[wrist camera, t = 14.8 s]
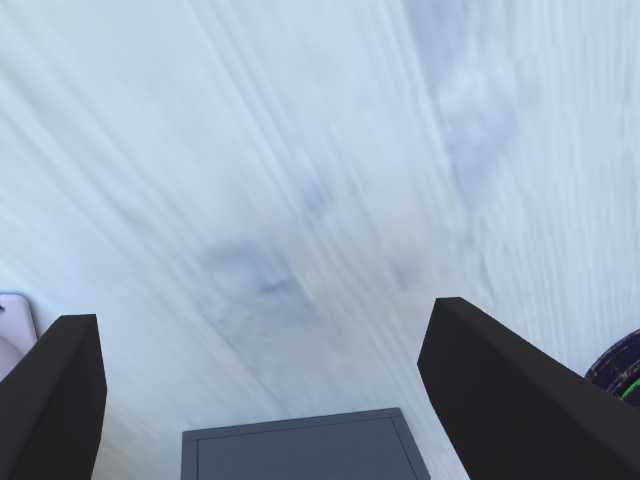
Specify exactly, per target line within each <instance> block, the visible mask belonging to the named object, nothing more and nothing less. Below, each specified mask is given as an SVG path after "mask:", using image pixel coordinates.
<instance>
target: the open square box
mask: <svg viewBox="0 0 640 480" xmlns="http://www.w3.org/2000/svg"><path fill="white" fill-rule="evenodd" d="M181 480H431V476H430V474H429V472H428V470H427V468H426V465H425V463H424V461H423V459H422V456H421V454H420V452H419V450H418V447H417V445H416V443H415V441H414V439H413V436H412V434H411V432H410V430H409V427H408V425H407V423H406V421H405V418H404V416H403V414H402V412H401V410H400V408H393V409H384V410H375V411H366V412H357V413H348V414H339V415H331V416H322V417H313V418H304V419H295V420H286V421H277V422H268V423H259V424H250V425H241V426H232V427H223V428H214V429H205V430H196V431H188V432H183V433H182V460H181Z"/></svg>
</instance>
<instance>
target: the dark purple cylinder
mask: <svg viewBox="0 0 640 480" xmlns="http://www.w3.org/2000/svg"><path fill="white" fill-rule="evenodd" d="M585 379H586V380H588V381H589V382H591V383H593V384H594V385H596V386H598V387H599V388H601V389H603V390H604V391H606V392H608V393H610V394H611V395H613V396H615V397H617V398H618V399H620V400H622V401H624V402H626V403H628V404H630V405H631V406H633V407H635V408H637V409H639V410H640V330H638V331H636V332H634V333H632V334H630V335H629V336H627V337H626V338H624V339H622V340H621V341H619V342H618V343H617V344H615V345H614V346H613V347H611V348H610V349H609V350H608V351H607V352H606V353H605V354H604V355H602V356H601V357H600V358H599V360H598V361H597V362H596V363H595V364H594V365H593V366H592V368H591V369H590V370H589V372H588V373H587V374H586V376H585Z"/></svg>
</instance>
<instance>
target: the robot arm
mask: <svg viewBox="0 0 640 480" xmlns="http://www.w3.org/2000/svg"><path fill="white" fill-rule="evenodd" d="M0 306H2V307H4V309H0V480H91V476H92V472H93V468H94V464H95V460H96V456H97V452H98V448H99V444H100V440H101V433H102V426H103V419H104V412H105V404H106V396H107V385H106V378H105V371H104V365H103V358H102V352H101V345H100V338H99V332H98V325H97V318H96V314H85V315H64V316H60V317H59V318H58V319H57V320H56V321H55V322H54V323H53V324H52V325H51V326H50V327H49V328H48V330H47V331H46V332H45V333H44V334H43V335H42V336H41V338H40V339H39V340H37V336H36V332H35V328H34V324H33V320H32V316H31V312H30V308H29V304H28V302H27V300H26V299H25V298H24V297H22V296H20V295H16V294H1V295H0ZM417 366H418V368H419V371H420V374H421V377H422V380H423V383H424V386H425V389H426V391H427V394H428V396H429V399H430V402H431V404H432V406H433V408H434V410H435V412H436V414H437V416H438V418H439V420H440V422H441V424H442V426H443V428H444V430H445V432H446V434H447V436H448V438H449V440H450V441H451V443H452V445H453V447H454V449H455V451H456V453H457V455H458V457H459V459H460V460H461V462H462V464H463V466H464V468H465V470H466V472H467V474H468V476H469V478H470V479H471V480H640V410H639V409H637V408H635V407H633V406H631V405H630V404H628V403H626V402H624V401H622V400H620V399H618V398H617V397H615V396H613V395H611V394H610V393H608V392H606V391H604V390H603V389H601V388H599V387H598V386H596V385H594V384H593V383H591V382H589V381H588V380H586V379H585V378H583V377H581V376H580V375H578V374H576V373H575V372H573V371H572V370H570V369H568V368H567V367H565V366H564V365H562V364H561V363H559V362H557V361H556V360H554V359H553V358H551V357H550V356H548V355H547V354H545V353H544V352H542V351H541V350H539V349H538V348H536V347H535V346H533V345H532V344H530V343H529V342H527V341H526V340H524V339H523V338H521V337H520V336H519V335H517V334H516V333H514V332H513V331H511V330H510V329H508V328H507V327H505V326H504V325H502V324H501V323H500V322H498V321H497V320H495V319H494V318H492V317H491V316H489V315H488V314H486V313H485V312H483V311H482V310H480V309H479V308H477V307H476V306H474V305H473V304H471V303H469V302H468V301H466V300H464V299H463V298H461V297H450V298H436V301H435V304H434V307H433V311H432V314H431V318H430V321H429V325H428V328H427V331H426V335H425V338H424V342H423V345H422V348H421V352H420V355H419V359H418V362H417Z"/></svg>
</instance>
